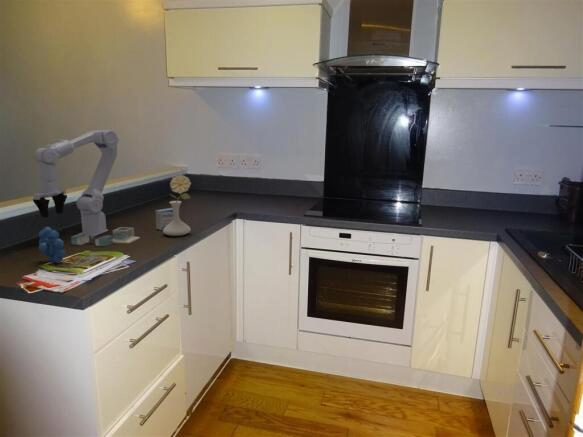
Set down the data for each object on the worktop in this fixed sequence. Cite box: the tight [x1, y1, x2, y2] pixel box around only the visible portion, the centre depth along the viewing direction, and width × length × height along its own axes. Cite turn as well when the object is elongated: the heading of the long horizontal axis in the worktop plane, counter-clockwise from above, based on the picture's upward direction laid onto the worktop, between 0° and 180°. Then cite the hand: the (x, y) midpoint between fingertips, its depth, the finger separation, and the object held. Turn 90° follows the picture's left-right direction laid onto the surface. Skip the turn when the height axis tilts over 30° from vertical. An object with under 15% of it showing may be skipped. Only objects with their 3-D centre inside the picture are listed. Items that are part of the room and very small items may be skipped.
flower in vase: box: [162, 174, 192, 237], centre depth 175 cm, size 13×11×25 cm
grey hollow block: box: [112, 226, 136, 241], centre depth 168 cm, size 6×6×4 cm
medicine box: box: [154, 207, 173, 231], centre depth 187 cm, size 8×4×9 cm, turn 138°
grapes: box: [38, 226, 66, 263], centre depth 139 cm, size 12×7×12 cm, turn 62°
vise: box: [70, 233, 114, 247], centre depth 163 cm, size 5×14×3 cm, turn 79°
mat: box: [112, 236, 141, 245], centre depth 169 cm, size 8×9×1 cm
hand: (52, 215), depth 164 cm, fingers open, 7 cm apart
